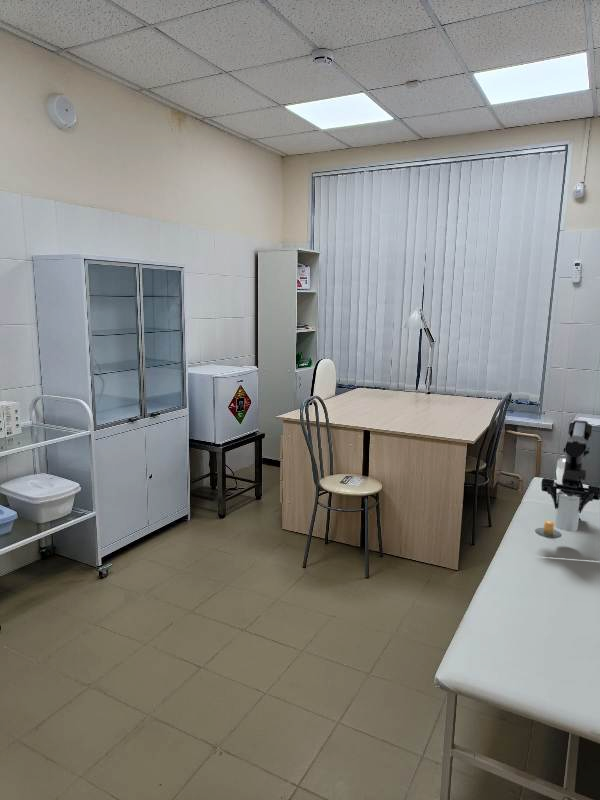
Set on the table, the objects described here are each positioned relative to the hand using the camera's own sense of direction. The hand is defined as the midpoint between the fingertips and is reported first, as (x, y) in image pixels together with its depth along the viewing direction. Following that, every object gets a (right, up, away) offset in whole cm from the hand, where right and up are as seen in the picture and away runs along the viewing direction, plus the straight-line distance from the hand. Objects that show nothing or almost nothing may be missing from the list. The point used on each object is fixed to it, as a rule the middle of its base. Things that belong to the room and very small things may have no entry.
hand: (567, 510), depth 191 cm
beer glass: (+25, -3, +57) cm, 62 cm away
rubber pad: (-1, -11, +13) cm, 17 cm away
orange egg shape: (-1, -11, +13) cm, 17 cm away
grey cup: (+1, -6, +2) cm, 7 cm away
